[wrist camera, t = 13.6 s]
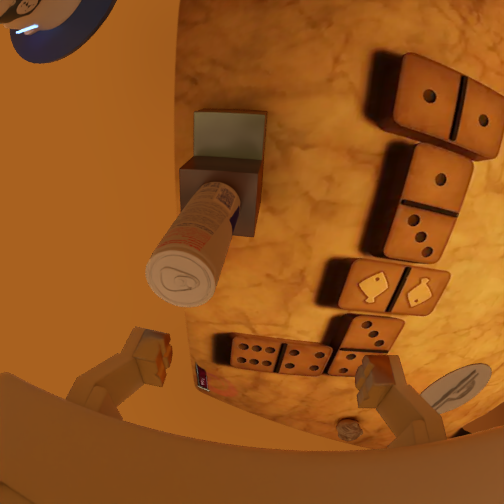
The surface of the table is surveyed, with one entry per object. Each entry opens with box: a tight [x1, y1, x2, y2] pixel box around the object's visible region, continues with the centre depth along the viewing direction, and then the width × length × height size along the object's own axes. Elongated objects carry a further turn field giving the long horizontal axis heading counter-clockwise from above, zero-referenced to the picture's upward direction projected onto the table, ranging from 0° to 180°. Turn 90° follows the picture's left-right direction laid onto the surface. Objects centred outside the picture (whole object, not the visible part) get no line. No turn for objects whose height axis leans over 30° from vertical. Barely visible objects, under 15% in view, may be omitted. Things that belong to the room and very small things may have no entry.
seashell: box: [337, 419, 363, 441], centre depth 77 cm, size 9×7×8 cm
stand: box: [179, 108, 267, 237], centre depth 38 cm, size 14×9×11 cm, turn 177°
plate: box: [420, 363, 492, 414], centre depth 70 cm, size 28×28×1 cm
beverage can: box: [146, 182, 241, 307], centre depth 28 cm, size 6×6×15 cm
